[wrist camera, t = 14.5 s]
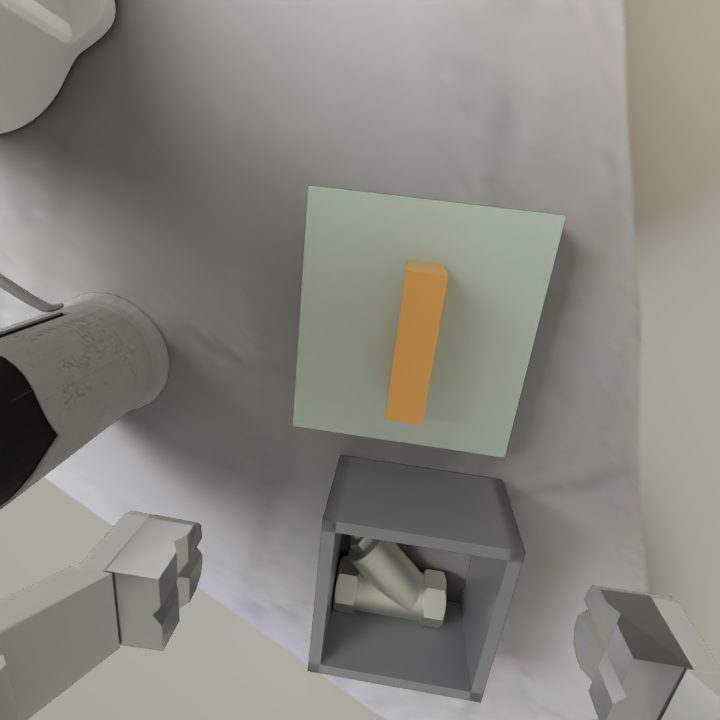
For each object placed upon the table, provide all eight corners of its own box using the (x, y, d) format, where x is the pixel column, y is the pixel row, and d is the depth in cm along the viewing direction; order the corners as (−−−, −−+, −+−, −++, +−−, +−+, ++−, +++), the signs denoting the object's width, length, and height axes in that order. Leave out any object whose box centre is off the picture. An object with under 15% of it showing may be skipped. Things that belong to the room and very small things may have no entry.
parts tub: (340, 455, 33) (322, 519, 27) (502, 479, 33) (525, 552, 26) (325, 587, 38) (307, 671, 31) (468, 612, 37) (480, 702, 30)
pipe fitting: (347, 510, 36) (338, 582, 38) (340, 542, 32) (331, 620, 34) (451, 526, 35) (437, 598, 37) (456, 561, 31) (440, 639, 33)
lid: (318, 186, 27) (292, 184, 21) (549, 213, 26) (590, 219, 20) (302, 405, 32) (277, 455, 26) (496, 434, 31) (516, 491, 25)
